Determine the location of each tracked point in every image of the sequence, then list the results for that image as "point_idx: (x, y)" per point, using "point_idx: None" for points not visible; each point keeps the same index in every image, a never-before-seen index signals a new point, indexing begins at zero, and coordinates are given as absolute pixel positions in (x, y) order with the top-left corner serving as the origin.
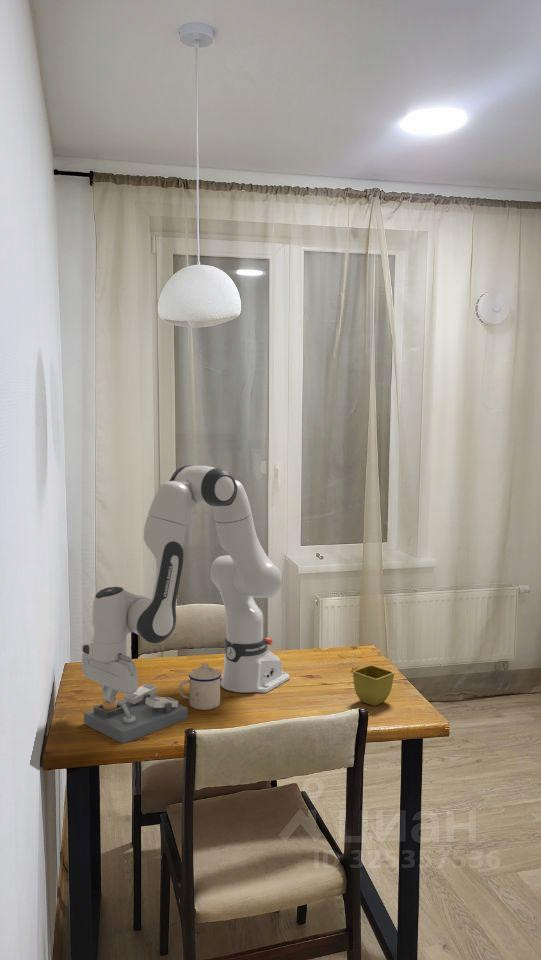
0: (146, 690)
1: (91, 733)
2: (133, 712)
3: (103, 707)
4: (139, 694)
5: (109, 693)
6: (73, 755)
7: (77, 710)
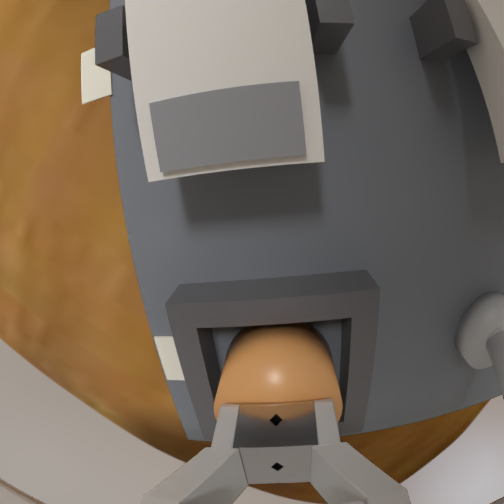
0: None
1: None
2: (411, 229)
3: None
4: (284, 49)
5: (239, 456)
6: (403, 479)
7: (49, 334)
